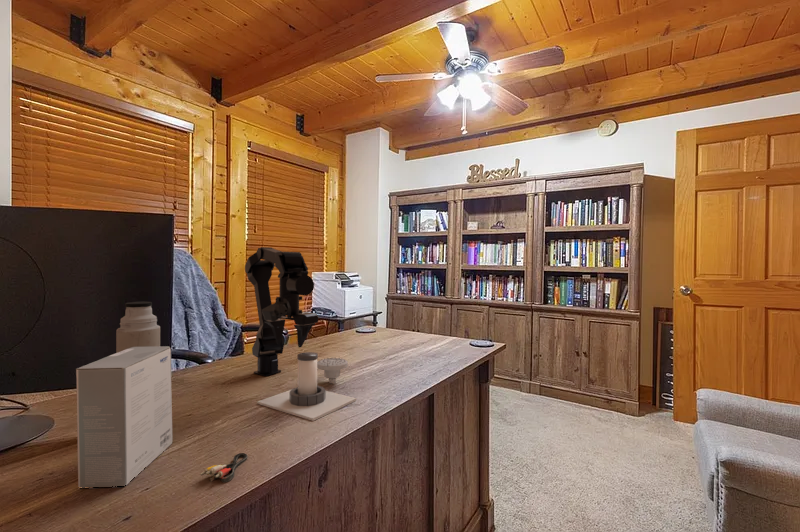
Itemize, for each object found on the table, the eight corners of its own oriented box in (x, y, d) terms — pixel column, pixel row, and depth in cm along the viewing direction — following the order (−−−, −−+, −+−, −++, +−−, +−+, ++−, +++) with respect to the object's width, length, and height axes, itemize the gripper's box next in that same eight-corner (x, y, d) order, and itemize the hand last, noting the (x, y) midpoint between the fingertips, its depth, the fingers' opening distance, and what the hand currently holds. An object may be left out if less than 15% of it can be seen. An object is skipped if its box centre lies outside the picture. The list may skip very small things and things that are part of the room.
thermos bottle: (142, 419, 90) (143, 299, 90) (168, 424, 87) (168, 301, 87) (107, 433, 82) (107, 302, 82) (134, 439, 80) (134, 304, 79)
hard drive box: (133, 445, 77) (133, 346, 77) (173, 443, 78) (173, 345, 78) (75, 490, 62) (75, 366, 62) (125, 488, 62) (125, 366, 62)
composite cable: (239, 456, 74) (239, 443, 74) (260, 460, 72) (260, 447, 72) (198, 484, 64) (198, 469, 64) (221, 490, 63) (221, 474, 63)
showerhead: (311, 362, 114) (322, 354, 124) (311, 387, 114) (321, 377, 124) (343, 363, 113) (350, 355, 123) (343, 388, 113) (350, 378, 123)
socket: (257, 403, 100) (257, 392, 100) (303, 387, 114) (303, 377, 114) (313, 421, 89) (313, 408, 89) (356, 400, 103) (356, 389, 103)
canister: (294, 403, 99) (294, 356, 99) (300, 396, 104) (300, 352, 104) (314, 403, 99) (315, 356, 99) (319, 396, 104) (319, 352, 104)
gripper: (246, 293, 113) (246, 346, 114) (290, 296, 103) (289, 354, 104) (276, 291, 123) (276, 340, 123) (319, 294, 113) (319, 347, 113)
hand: (289, 345), depth 115 cm, fingers open, 9 cm apart
